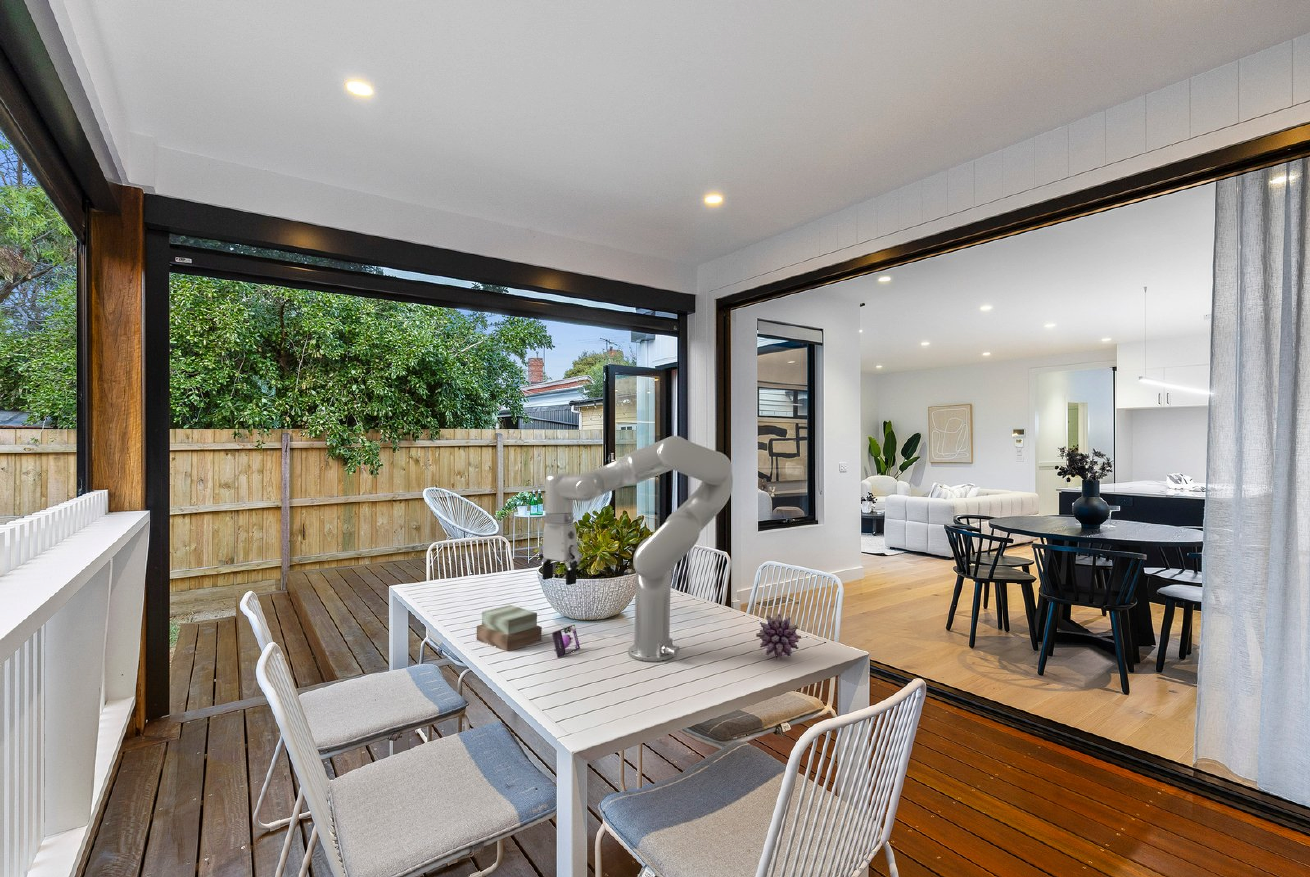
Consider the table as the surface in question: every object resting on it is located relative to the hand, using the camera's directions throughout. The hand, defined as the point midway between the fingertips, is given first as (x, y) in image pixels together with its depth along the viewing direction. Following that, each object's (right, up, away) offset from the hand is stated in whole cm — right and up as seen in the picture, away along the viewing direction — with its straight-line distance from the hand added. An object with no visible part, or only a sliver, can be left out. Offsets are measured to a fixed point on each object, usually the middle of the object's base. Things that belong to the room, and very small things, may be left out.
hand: (559, 581), depth 173 cm
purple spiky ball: (+60, -20, -3) cm, 63 cm away
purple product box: (+1, -19, -1) cm, 19 cm away
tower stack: (-15, -18, +7) cm, 25 cm away
